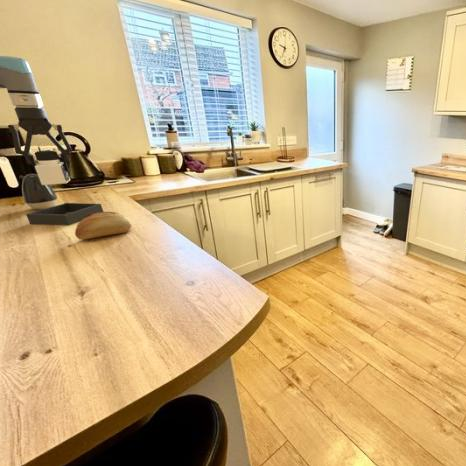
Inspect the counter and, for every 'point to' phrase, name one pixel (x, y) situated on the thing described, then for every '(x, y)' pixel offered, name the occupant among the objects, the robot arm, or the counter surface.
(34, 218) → the bin
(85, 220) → the bread roll
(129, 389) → the counter surface
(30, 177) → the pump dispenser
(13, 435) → the counter surface
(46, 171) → the medicine bottle
